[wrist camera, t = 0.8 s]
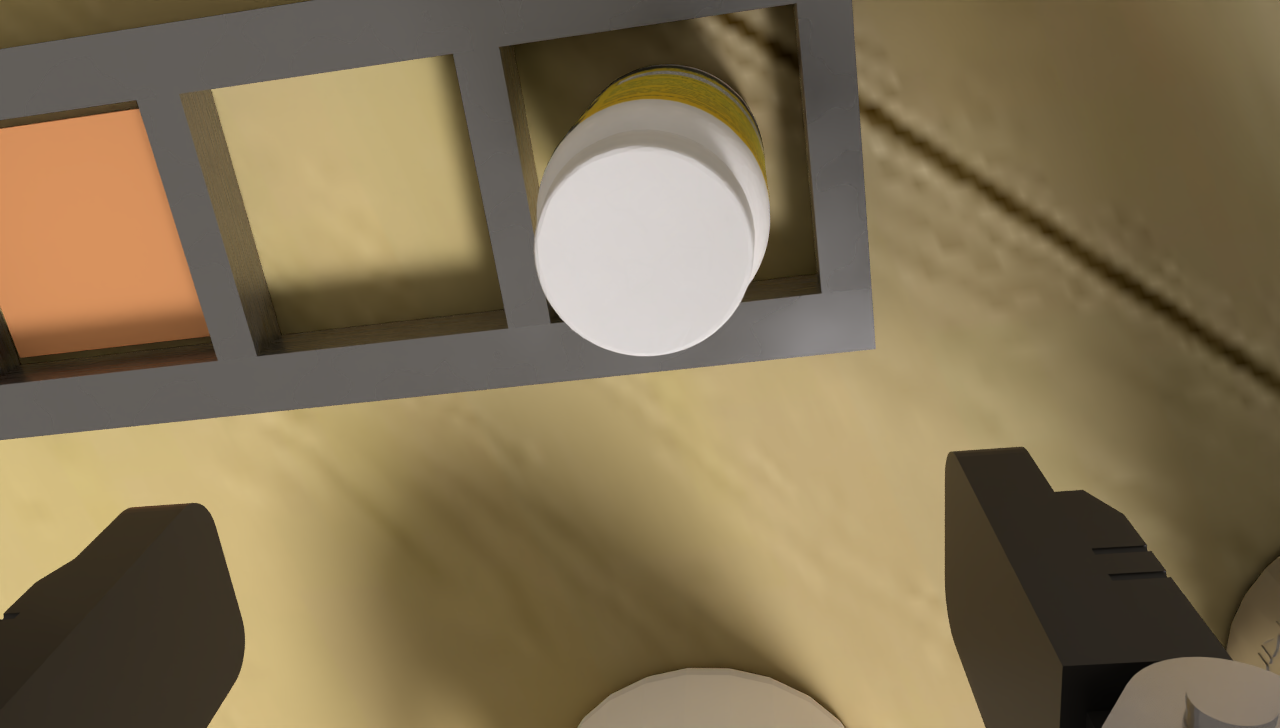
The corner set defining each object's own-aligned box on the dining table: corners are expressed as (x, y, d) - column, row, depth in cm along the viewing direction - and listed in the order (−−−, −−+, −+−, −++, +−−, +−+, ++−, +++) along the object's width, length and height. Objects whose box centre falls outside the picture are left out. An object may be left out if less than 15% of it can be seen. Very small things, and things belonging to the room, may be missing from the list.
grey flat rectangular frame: (839, -82, 24) (846, -83, 23) (868, 326, 28) (875, 348, 26) (-138, 70, 27) (-187, 78, 26) (2, 419, 31) (-34, 443, 29)
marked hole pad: (162, 104, 27) (155, 106, 27) (230, 330, 29) (225, 334, 29) (-57, 136, 28) (-65, 138, 28) (26, 353, 30) (20, 357, 30)
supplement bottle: (579, 55, 26) (513, 107, 18) (773, 68, 26) (791, 127, 18) (573, 245, 28) (510, 366, 20) (753, 259, 27) (762, 388, 20)
